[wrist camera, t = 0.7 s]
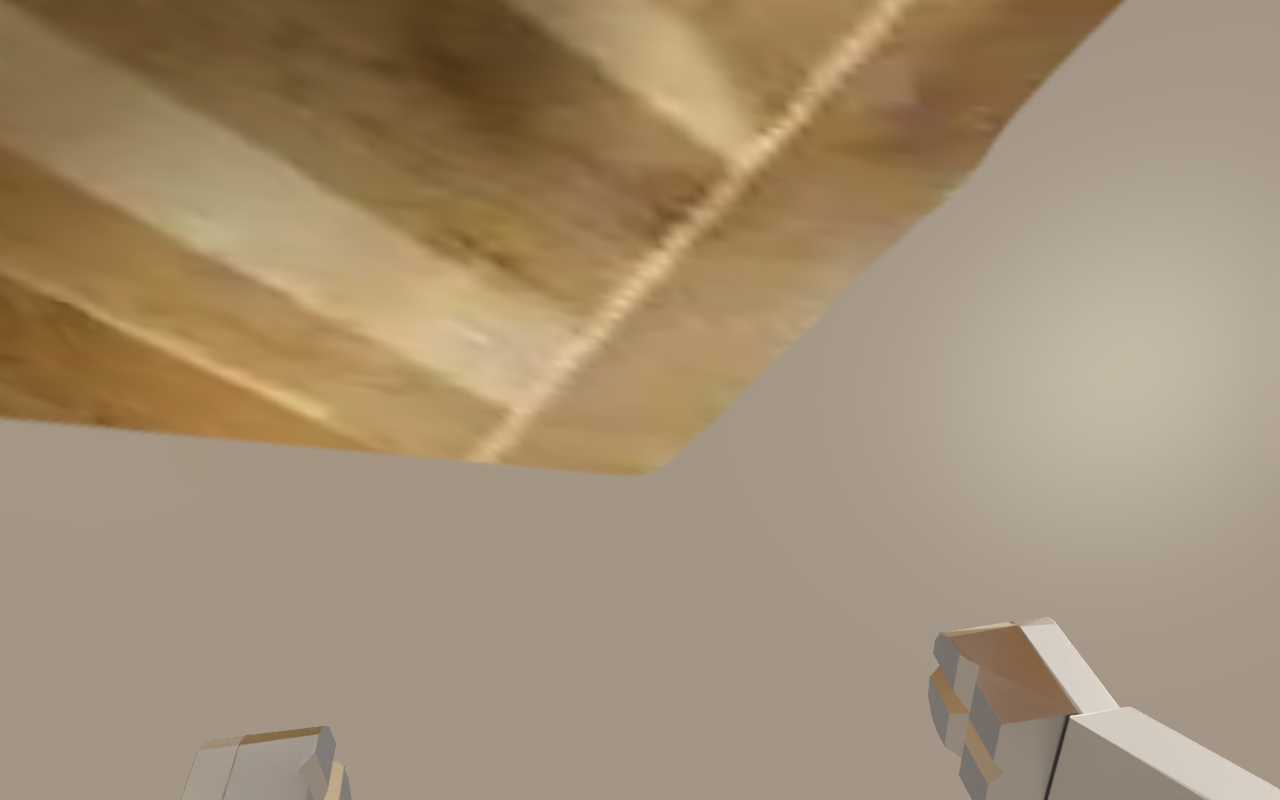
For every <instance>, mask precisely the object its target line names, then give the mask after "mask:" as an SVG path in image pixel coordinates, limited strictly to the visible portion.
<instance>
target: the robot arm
mask: <svg viewBox="0 0 1280 800" xmlns="http://www.w3.org/2000/svg"><path fill="white" fill-rule="evenodd" d="M933 654H934V655H935V658H936V659H937V661H938V663H939V665H940V666H939V667H938V668H937V670H936V671H935V672H934V673H933V674H932V675H931V676H930V680H929V691H928V697H929V704H930V710H931V715H932V718H933V721H934V724H935V727H936V730H937V732H938V734H939V736H940V738H941V740H942V742H943V744H944V746H945V747H946V748H948V749H949V750H951V751H952V752H954V753H955V754H957V755H958V756H960V757H961V758H962V759H961V765H960V772H959V776H960V778H961V780H962V782H963V784H964V785H965V787H966V789H967V791H968V793H969V795H970V797H971V799H972V800H1280V789H1278V788H1276V787H1274V786H1273V785H1271V784H1269V783H1267V782H1266V781H1264V780H1262V779H1260V778H1258V777H1257V776H1255V775H1253V774H1251V773H1249V772H1248V771H1246V770H1244V769H1242V768H1240V767H1238V766H1237V765H1235V764H1233V763H1231V762H1230V761H1228V760H1226V759H1224V758H1222V757H1220V756H1219V755H1217V754H1215V753H1213V752H1211V751H1210V750H1208V749H1206V748H1204V747H1202V746H1201V745H1199V744H1197V743H1195V742H1193V741H1192V740H1190V739H1188V738H1186V737H1184V736H1183V735H1181V734H1179V733H1177V732H1175V731H1174V730H1172V729H1170V728H1168V727H1166V726H1165V725H1163V724H1161V723H1159V722H1157V721H1156V720H1154V719H1152V718H1150V717H1148V716H1147V715H1145V714H1143V713H1141V712H1139V711H1138V710H1136V709H1134V708H1132V707H1123V708H1120V707H1119V706H1118V705H1117V704H1116V702H1115V701H1114V700H1113V698H1112V697H1111V696H1110V694H1109V693H1108V692H1107V690H1106V689H1105V688H1104V686H1103V685H1102V684H1101V682H1100V681H1099V680H1098V678H1097V677H1096V676H1095V674H1094V673H1093V672H1092V670H1091V669H1090V668H1089V666H1088V665H1087V664H1086V663H1085V661H1084V660H1083V659H1082V657H1081V656H1080V655H1079V653H1078V652H1077V651H1076V649H1075V648H1074V647H1073V645H1072V644H1071V643H1070V641H1069V640H1068V639H1067V637H1066V636H1065V635H1064V633H1063V632H1062V631H1061V629H1060V628H1059V627H1058V626H1057V624H1056V623H1055V621H1053V620H1052V619H1050V618H1048V617H1047V616H1045V617H1039V618H1032V619H1026V620H1019V621H1013V622H1010V623H1008V622H1004V623H998V624H991V625H986V626H979V627H973V628H967V629H961V630H954V631H948V632H942V633H940V634H939V635H938V637H937V638H936V640H935V645H934V651H933ZM335 747H336V742H335V740H334V737H333V735H332V732H331V730H330V727H328V726H320V727H312V728H303V729H295V730H287V731H279V732H271V733H263V734H256V735H246V736H243V737H235V738H227V739H219V740H212V741H206V742H205V743H204V744H203V746H202V747H201V748H200V749H199V751H198V752H197V754H196V756H195V759H194V762H193V765H192V768H191V771H190V774H189V776H188V779H187V782H186V785H185V788H184V791H183V794H182V797H181V800H351V792H350V785H349V780H348V776H347V773H346V770H345V767H344V766H343V765H341V764H339V763H338V762H336V761H334V760H333V758H334V753H335Z"/></svg>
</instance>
